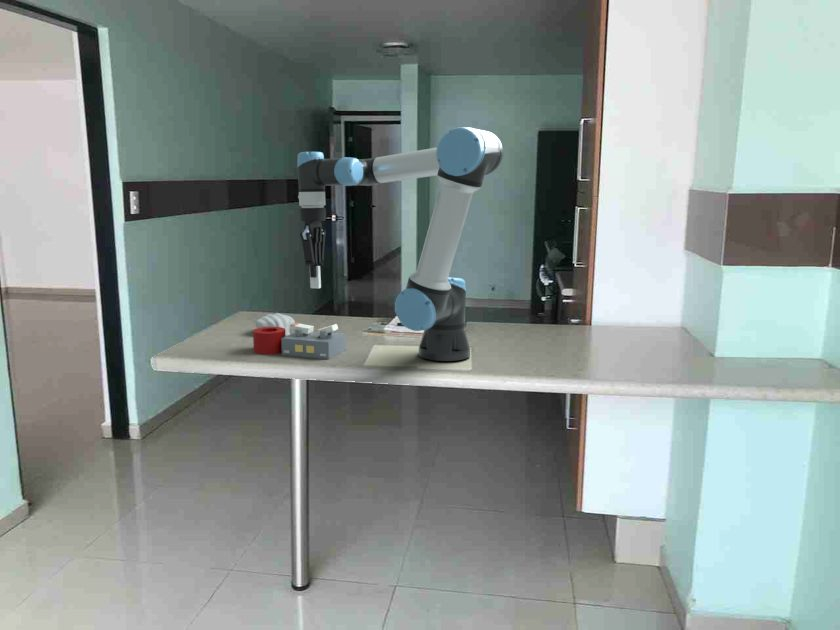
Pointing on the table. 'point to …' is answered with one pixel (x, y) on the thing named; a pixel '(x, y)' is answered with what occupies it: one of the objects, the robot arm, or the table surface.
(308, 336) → the panel
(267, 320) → the shell shaped sculpture
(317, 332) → the rocker
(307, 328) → the rocker
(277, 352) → the lever
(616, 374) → the table surface
